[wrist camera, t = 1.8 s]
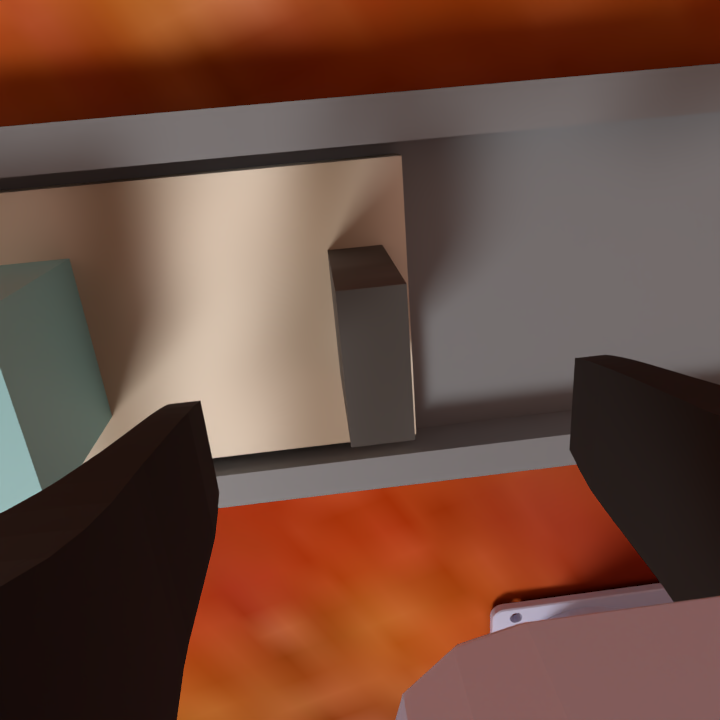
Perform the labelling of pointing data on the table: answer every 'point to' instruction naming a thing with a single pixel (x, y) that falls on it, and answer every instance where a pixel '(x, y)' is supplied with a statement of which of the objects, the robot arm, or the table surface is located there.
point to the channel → (475, 247)
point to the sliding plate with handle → (240, 297)
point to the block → (45, 379)
